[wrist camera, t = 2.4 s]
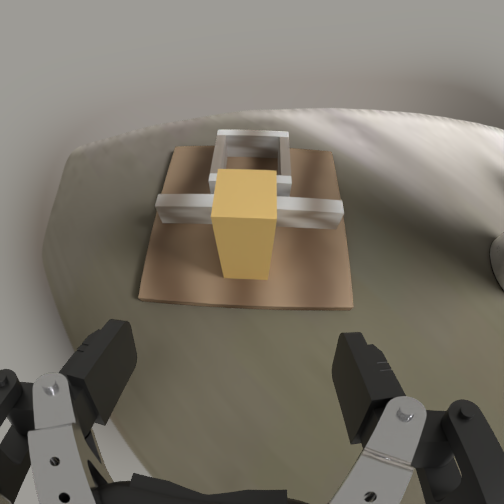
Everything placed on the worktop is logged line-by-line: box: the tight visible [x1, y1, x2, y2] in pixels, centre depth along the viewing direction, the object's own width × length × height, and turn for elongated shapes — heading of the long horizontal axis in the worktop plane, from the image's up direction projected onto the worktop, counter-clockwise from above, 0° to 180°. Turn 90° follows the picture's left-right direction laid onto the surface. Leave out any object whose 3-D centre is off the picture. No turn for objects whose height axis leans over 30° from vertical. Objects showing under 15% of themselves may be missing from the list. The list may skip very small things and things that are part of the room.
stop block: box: [211, 169, 277, 280], centre depth 23 cm, size 4×4×10 cm
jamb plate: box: [138, 130, 353, 310], centre depth 28 cm, size 20×20×4 cm
